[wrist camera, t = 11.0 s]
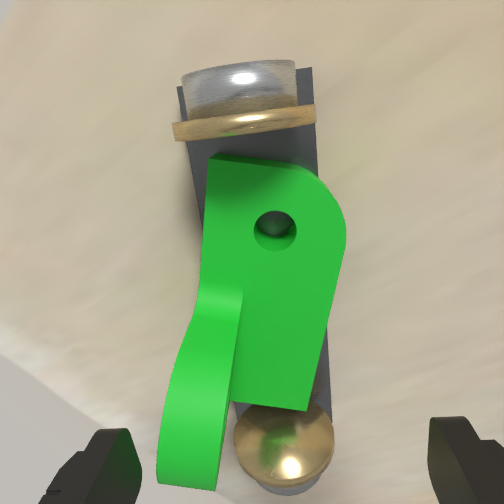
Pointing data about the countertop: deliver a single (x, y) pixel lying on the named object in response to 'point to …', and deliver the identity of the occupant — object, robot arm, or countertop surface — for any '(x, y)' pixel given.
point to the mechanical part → (250, 309)
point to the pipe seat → (271, 223)
